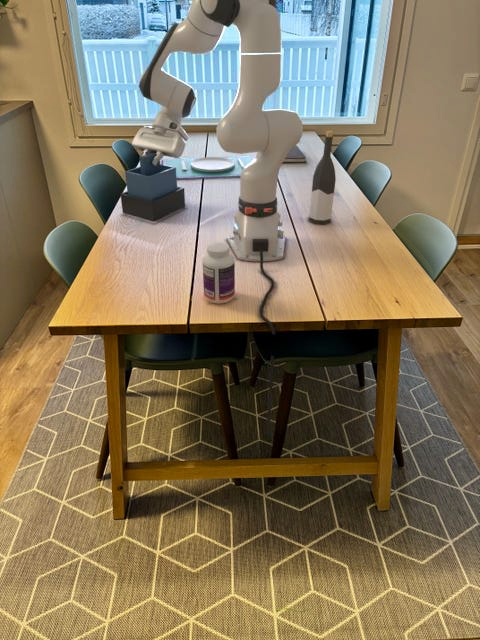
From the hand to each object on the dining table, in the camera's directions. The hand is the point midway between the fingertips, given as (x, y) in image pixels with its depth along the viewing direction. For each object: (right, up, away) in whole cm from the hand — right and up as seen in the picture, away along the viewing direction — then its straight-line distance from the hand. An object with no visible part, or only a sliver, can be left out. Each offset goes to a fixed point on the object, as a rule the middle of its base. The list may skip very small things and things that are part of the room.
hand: (149, 163), depth 161 cm
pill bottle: (+26, -48, -39) cm, 67 cm away
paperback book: (+54, +28, +74) cm, 96 cm away
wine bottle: (+60, -18, +6) cm, 63 cm away
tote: (0, -14, +10) cm, 17 cm away
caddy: (0, -10, +7) cm, 12 cm away
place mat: (+19, +17, +56) cm, 62 cm away
